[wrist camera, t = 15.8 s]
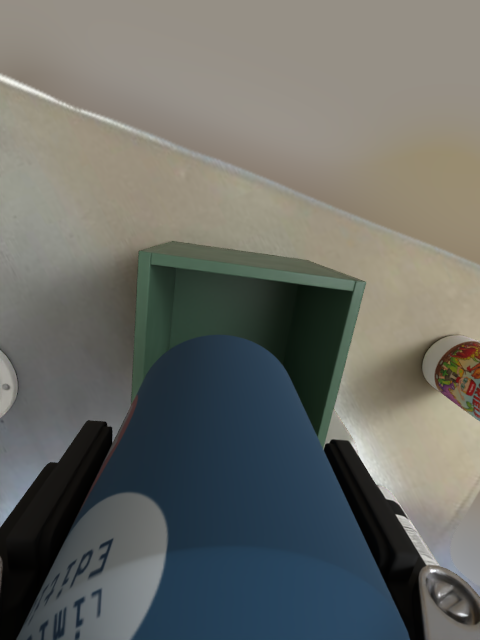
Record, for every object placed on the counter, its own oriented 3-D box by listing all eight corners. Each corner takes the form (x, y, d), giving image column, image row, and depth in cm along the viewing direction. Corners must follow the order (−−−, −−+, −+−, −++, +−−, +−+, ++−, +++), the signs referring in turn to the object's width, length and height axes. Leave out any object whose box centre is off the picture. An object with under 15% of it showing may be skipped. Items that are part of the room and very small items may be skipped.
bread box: (172, 240, 34) (138, 250, 20) (308, 260, 36) (366, 281, 22) (162, 361, 38) (128, 441, 24) (285, 374, 40) (321, 455, 26)
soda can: (119, 358, 14) (-297, 904, 3) (258, 301, 14) (448, 655, 2) (183, 470, 16) (96, 1054, 5) (306, 423, 16) (534, 932, 4)
